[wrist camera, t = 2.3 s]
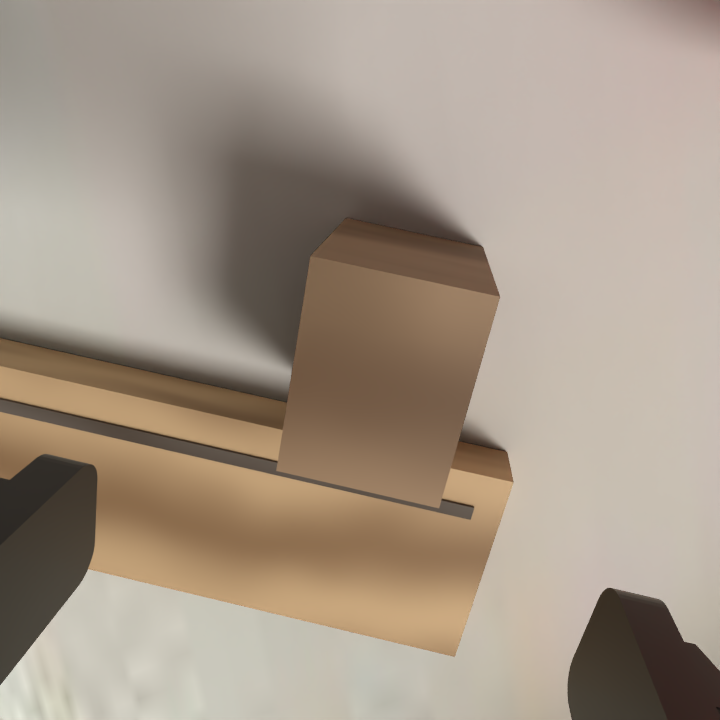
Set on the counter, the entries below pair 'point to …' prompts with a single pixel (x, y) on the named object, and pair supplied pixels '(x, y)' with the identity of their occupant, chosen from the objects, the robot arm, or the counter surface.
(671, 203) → the counter surface
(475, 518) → the oak board
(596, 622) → the robot arm
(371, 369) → the walnut block
